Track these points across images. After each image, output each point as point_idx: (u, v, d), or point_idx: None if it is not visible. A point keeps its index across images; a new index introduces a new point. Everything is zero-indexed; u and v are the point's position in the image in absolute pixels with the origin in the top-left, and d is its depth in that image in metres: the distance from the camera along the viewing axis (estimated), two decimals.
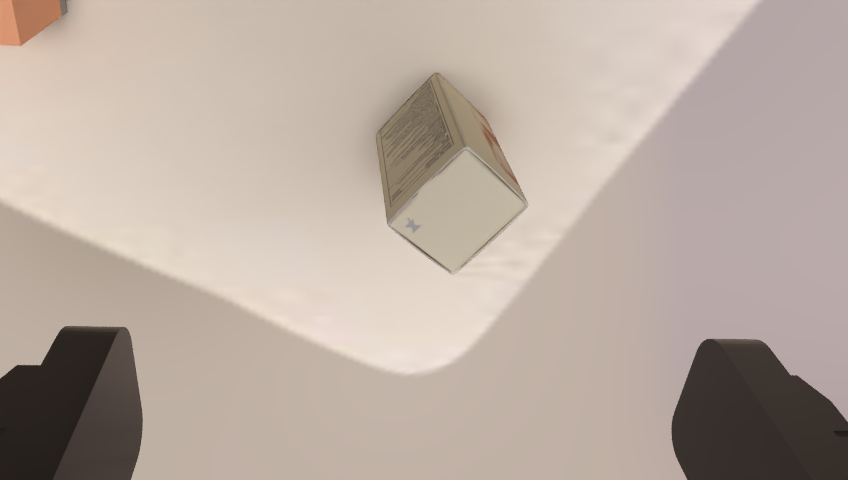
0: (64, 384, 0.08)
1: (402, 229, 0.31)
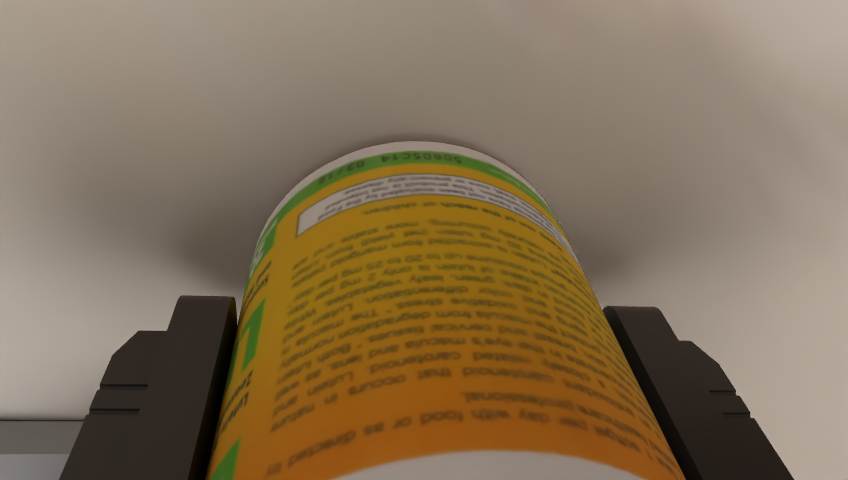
0: (193, 345, 0.09)
1: None
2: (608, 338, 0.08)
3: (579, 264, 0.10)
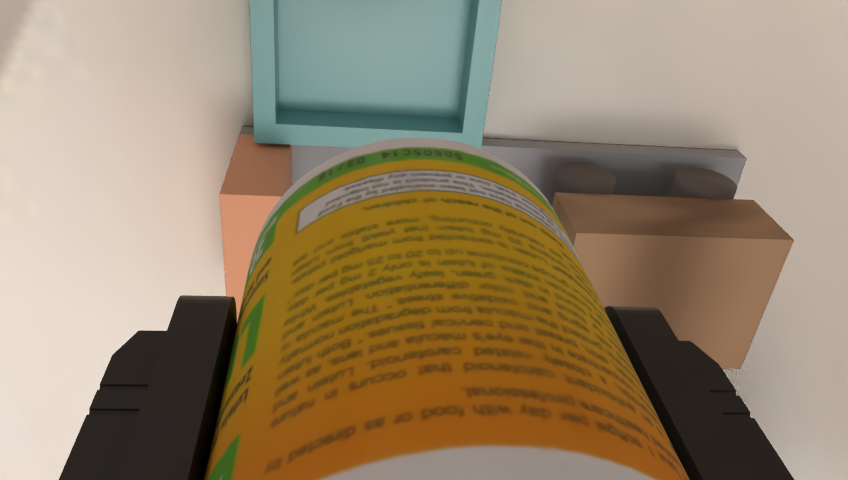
0: (192, 345, 0.09)
1: None
2: (609, 334, 0.08)
3: (580, 261, 0.10)
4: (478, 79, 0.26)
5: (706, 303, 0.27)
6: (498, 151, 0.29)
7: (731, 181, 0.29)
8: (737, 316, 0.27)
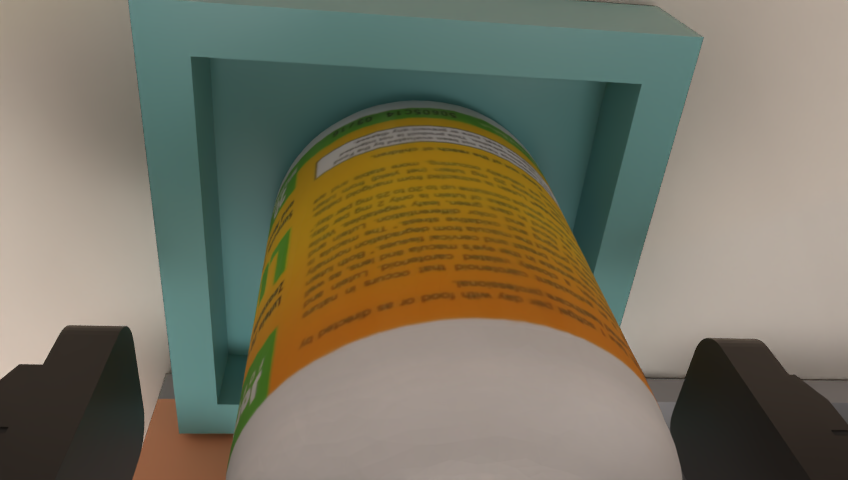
0: (66, 383, 0.08)
1: None
2: (577, 256, 0.10)
3: (558, 205, 0.12)
4: None
5: None
6: None
7: None
8: None
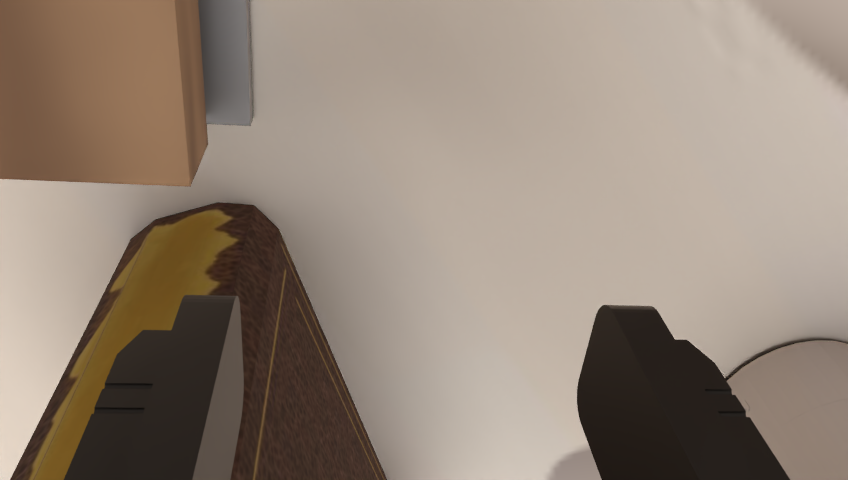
0: (197, 344, 0.09)
1: None
2: None
3: None
4: None
5: (85, 75, 0.19)
6: None
7: None
8: (144, 98, 0.19)
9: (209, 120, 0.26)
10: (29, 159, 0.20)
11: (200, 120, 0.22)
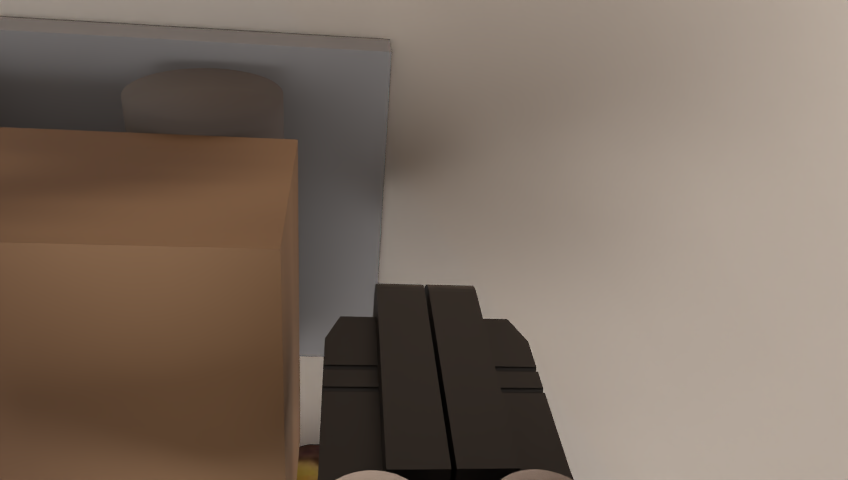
0: (406, 328, 0.09)
1: None
2: None
3: None
4: None
5: (86, 438, 0.09)
6: None
7: (276, 96, 0.11)
8: (209, 466, 0.09)
9: (309, 351, 0.16)
10: None
11: (296, 427, 0.12)
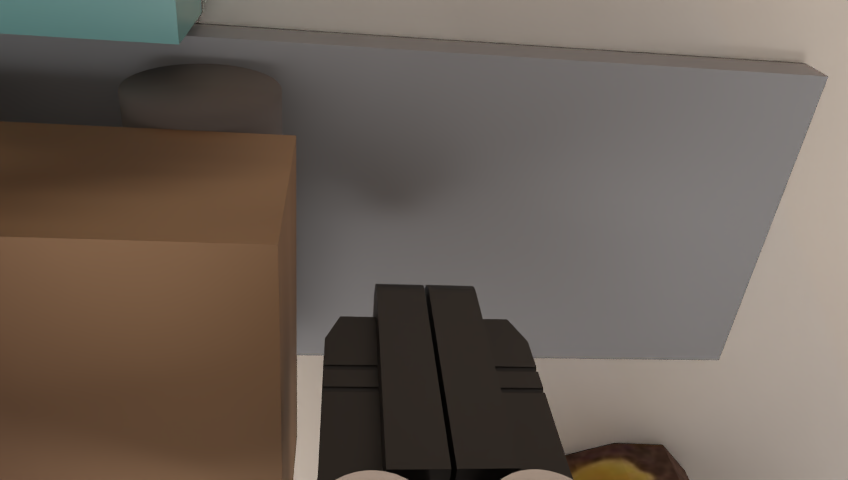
0: (406, 328, 0.09)
1: None
2: None
3: None
4: None
5: (79, 435, 0.09)
6: (254, 52, 0.12)
7: (275, 92, 0.11)
8: (204, 465, 0.09)
9: (662, 355, 0.17)
10: None
11: (293, 426, 0.12)
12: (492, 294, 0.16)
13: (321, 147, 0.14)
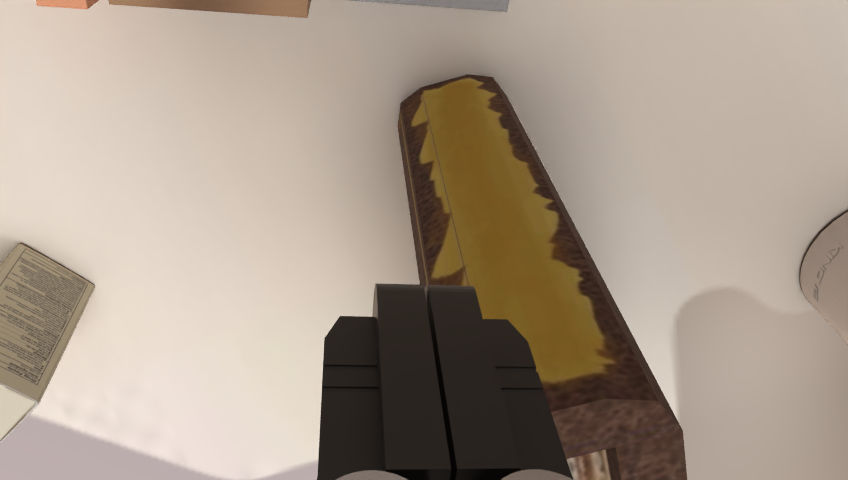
0: (406, 328, 0.09)
1: None
2: None
3: None
4: None
5: None
6: None
7: None
8: None
9: (479, 7, 0.37)
10: None
11: None
12: None
13: None
